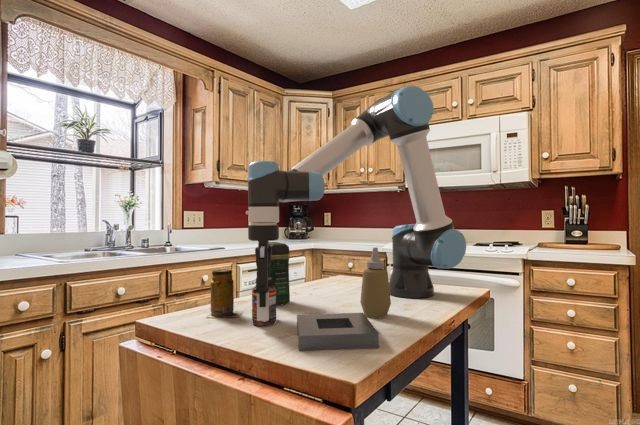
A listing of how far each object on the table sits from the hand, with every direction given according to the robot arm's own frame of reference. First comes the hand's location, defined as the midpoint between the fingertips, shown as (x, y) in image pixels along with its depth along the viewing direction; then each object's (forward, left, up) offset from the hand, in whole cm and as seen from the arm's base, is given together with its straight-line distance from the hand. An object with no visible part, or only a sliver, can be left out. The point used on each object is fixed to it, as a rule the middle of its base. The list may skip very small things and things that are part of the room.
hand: (264, 314), depth 95 cm
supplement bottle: (0, 0, -2) cm, 2 cm away
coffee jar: (-2, -22, -3) cm, 22 cm away
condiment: (+11, -10, -3) cm, 15 cm away
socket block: (-16, +12, -2) cm, 20 cm away
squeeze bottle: (-29, -4, -2) cm, 29 cm away
